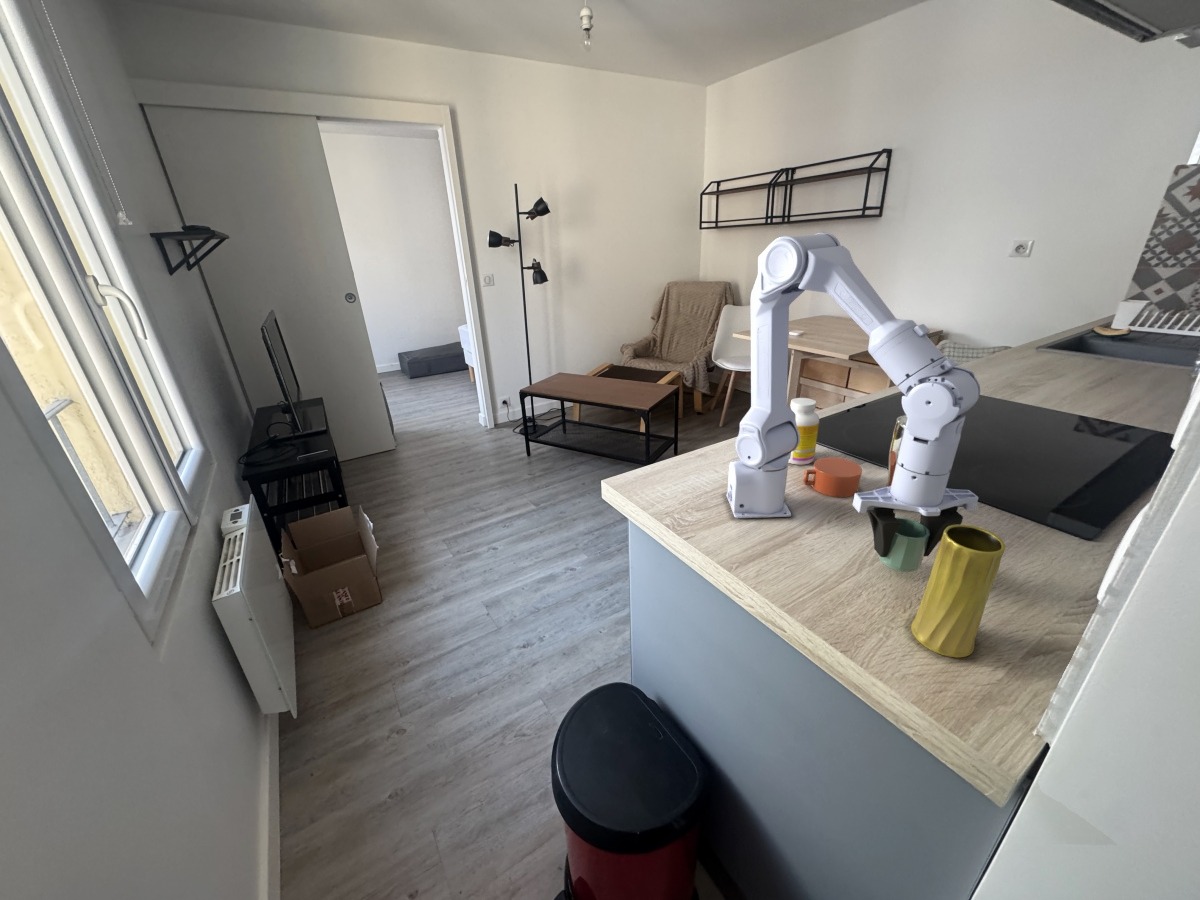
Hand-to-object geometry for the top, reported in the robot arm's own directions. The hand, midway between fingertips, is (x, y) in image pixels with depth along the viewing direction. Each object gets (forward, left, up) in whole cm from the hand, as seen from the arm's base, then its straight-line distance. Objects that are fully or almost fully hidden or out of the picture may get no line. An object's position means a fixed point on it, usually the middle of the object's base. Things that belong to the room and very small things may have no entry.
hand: (900, 552), depth 65 cm
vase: (-1, -12, -3) cm, 13 cm away
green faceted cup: (0, 0, -1) cm, 1 cm away
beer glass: (+10, +18, -3) cm, 21 cm away
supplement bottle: (-2, +36, -3) cm, 36 cm away
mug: (+1, +24, -3) cm, 24 cm away
